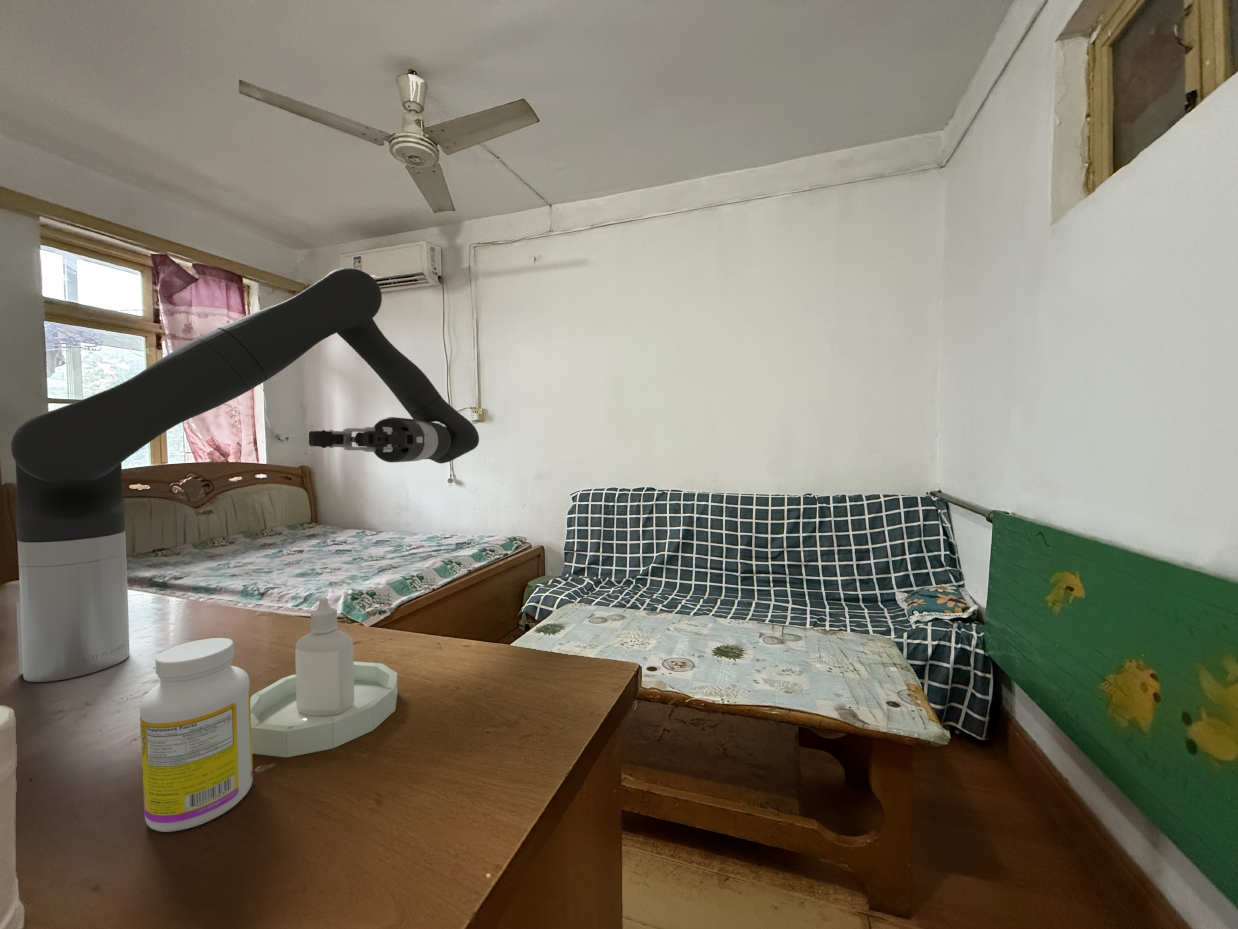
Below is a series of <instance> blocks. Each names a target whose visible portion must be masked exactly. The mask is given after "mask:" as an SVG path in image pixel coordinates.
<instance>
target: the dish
mask: <svg viewBox="0 0 1238 929" xmlns="http://www.w3.org/2000/svg"><path fill="white" fill-rule="evenodd" d="M397 700H398V672H396V671H395V670H393V669H392V668H390V667H388V666H387V665H385V664H384V663H381V662H380V663H379V662H378V663H377V662H368V661H367V662H366V661H355V660H354V703H353V704H352V705H351V706H350V707H349V708H348V709H347V710H345V711H344V712H342V713H340V714H337V715H330V716H312V715H307V714H304V713H301V712H299V711H298V710H297V707H296V673H294V674H290V675H288V676H285V677H282V678H280V679H278V680H277V681H275V682H273V683H272V684H270V685H268V686H267V687H265V688H263V689H261V690H259V691H257V692H255V693H254V694H252V695H251V696H250V709H251V737H252V755H262V756H270V757H278V758H279V757H280V758H291V757H296V756H302V755H306V754H311V753H317V752H323V751H327V750H331V749H332V750H333V749H335V748H337V747H340V746H342V745H344V744H346V743H348V742H350V741H353V740H355V739H357V738H359V737H361V736H363V735H366V734H367V733H370V732H372V731H374V730H375V729H376V728H377V727H378V726H380V725H381V724H382V723H383V722H385V720H386V719H387V718H388V717H389V716H391V715H392V714H393V713H394V712H395V711H396V708H397V702H398V701H397Z"/></svg>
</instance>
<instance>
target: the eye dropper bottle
mask: <svg viewBox="0 0 1238 929" xmlns="http://www.w3.org/2000/svg"><path fill="white" fill-rule="evenodd" d="M296 641H297V642H296V643H295V649H294V650H295V651H294V652H295V654H294V655H295V657H294V658H295V674H296V707H297V710H298V711H299V712H301V713H304V714H307V715H312V716H330V715H337V714H340V713H342V712H344V711H345V710H347V709H348V708H349V707H350V706H351V705H352V704H353V703H354V661H355V660H354V659H355V658H354V641H353V639H352V637H351V636H350V635H349V634H347V633H346V632H344V631H342V630H339V629H338V610H337V608H334V607H331V606H330V603H329V599H328V598H327V597H321V598H320V599H319V601H318V606H317V609H315V610H314V611H312V612H311V613H310V632H308V633H306V634H304V635H303V636H302V637H300V638H299V639H298V640H296Z"/></svg>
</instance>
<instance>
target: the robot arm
mask: <svg viewBox="0 0 1238 929" xmlns="http://www.w3.org/2000/svg"><path fill="white" fill-rule="evenodd" d="M382 297H383V296H382V290H381V287H380V285H379V283H378V282H377V281H376V280H375V278H374V277H373V276H372V275H370V274H369V273H367V272H365V271H363V270H360V269H357V268H352V267H341V268H337V269H334V270H332V271H330V272H329V273H327V275H325V276H324V277H322V278H321V279H320V280H318V281H317V282H315V283H314V284H312V285H310V286H308V288H306V289H304V290H303V291H301V292H299V293H297V294H296V295H294V296H292V297H291V298H289V299H287V300H285V301H283V302H279V303H277V304H275V305H272V306H268V307H266V308H264V309H261V310H257V311H255V312H253V313H250V314H248V315H245V316H243V317H240V318H238V319H236V320H234V321H232V322H229V323H226V324H224V325H222V326H219V327H217V328H215V329H214V330H213V329H212V330H210V332H206V333H205V334H203V335H201V336H199V337H196V338H195V339H193V340H191V341H189V342H187V343H186V344H184V345H182V346H180V347H179V348H177V349H175V350H174V351H172V352H170V353H168V354H167V355H165V356H163V357H161V358H160V359H159V360H157V361H156V362H154V363H153V364H152V365H150V366H148V367H147V368H145V369H144V370H143V371H141V372H139V373H138V374H136V375H135V376H133V377H131V378H130V379H129V378H128V379H127V380H125V381H123V382H122V383H120V384H117V385H114V386H113V387H110V388H107V389H106V390H103V391H100V392H97V393H95V394H93V395H91V396H89V397H88V396H87V397H86V398H83V399H81V400H77V401H75V402H72V403H70V404H69V403H68V404H67V405H65V406H64V405H63V406H62V407H59V408H56V409H52V410H49V411H47V412H43V413H40V414H38V415H35V416H32V417H31V418H30V419H28V420H26V421H24V422H23V423H22V424H21V425H20V426H19V427H17V430H15V432H14V434H13V435H12V438H11V441H10V450H11V451H10V452H11V455H12V458H13V460H14V461H15V477H16V478H15V480H16V520H15V524H16V525H15V527H16V529H15V530H16V540H17V541H16V542H17V557H18V558H17V561H18V578H19V599H18V600H17V601H16V618H17V620H16V621H17V622H16V623H17V625H16V626H17V641H18V642H17V646H18V667H19V674H23V676H22V677H23V679H24V680H23V681H26V682H30V683H31V682H32V683H43V682H44V683H46V682H55V681H61V680H62V681H63V680H67V679H72V678H77V677H81V676H85V675H89V674H93V673H96V672H99V671H101V670H102V671H103V670H104V669H108V668H110V667H113V666H115V665H118V664H120V663H121V662H123V661H125V660H126V659H128V658H129V656H130V627H129V626H130V624H129V622H130V621H129V620H130V619H129V597H128V596H129V594H128V592H129V591H128V568H127V565H128V564H127V544H126V543H127V541H126V539H127V538H126V531H125V530H126V516H125V515H126V514H125V513H126V512H125V505H124V502H125V501H124V496H123V495H124V493H123V491H124V490H123V471H122V470H123V465H122V463H123V462H124V461H125V460H126V459H128V458H129V457H131V456H132V455H134V454H135V453H136V452H138V451H139V450H141V449H142V448H143V447H145V446H146V445H148V444H149V443H151V442H152V441H153V440H155V439H157V438H158V437H160V436H161V435H163V434H164V433H165V432H168V431H169V430H171V429H172V428H174V427H175V426H177V425H179V424H182V423H183V422H185V421H187V420H190V419H192V418H195V417H197V416H199V415H202V414H204V413H207V412H209V411H211V410H213V409H216V408H218V407H220V406H222V405H224V404H226V403H228V402H230V401H232V400H234V399H236V398H238V397H240V396H242V395H243V394H245V393H248V392H250V391H251V390H252V389H255V388H256V387H258V386H259V385H261V384H263V383H265V382H266V381H268V380H270V379H272V378H273V377H275V375H278V373H279V374H280V372H281V371H283V370H284V369H286V368H287V367H289V366H291V364H293V363H294V362H295V361H296V360H298V359H299V358H300V357H302V356H303V355H305V354H306V353H307V352H308V351H309V350H311V349H312V348H313V347H315V346H316V345H317V344H318V343H320V342H323V340H325V339H327V338H329V337H330V336H332V335H335V334H337V335H338V336H339V337H340V338H341V339H342V340H344V342H346V343H347V344H348V345H349V346H350V347H351V348H352V349H353V351H355V352H356V354H358V355H359V357H361V358H362V360H363V361H364V362H365V363H366V364H367V365H369V367H370V368H371V369H372V370H373V371H374V372H375V373H376V375H377V376H378V378H380V379H381V381H383V383H384V384H385V385H386V387H388V389H389V390H390V391H391V392H392V394H393V395H394V396H395V398H396V399H397V400H398V401H399V403H400V404H401V406H402V407H403V408H404V410H406V412H407V413H408V414H409V415H410V417H411V418H407V417H406V418H405V417H396V416H395V417H394V416H389V417H384V418H381V419H380V420H379V421H377V422H376V423H375V424H374V426H366V427H363V428H357V427H347V428H346V427H345V428H343V429H342V430H341V431H339V430H333V429H329V430H326V429H324V430H323V429H322V430H310V431H309V432H308V445H309V446H310V447H319V448H322V449H326V448H329V449H334V448H343V450H345V451H363V452H367V453H374V455H375V456H376V457H377V458H379V460H381V461H383V462H386V463H406V462H409V463H410V462H418V461H421V460H422V461H423V460H431V461H433V462H435V463H437V464H445V463H450V462H451V461H453V460H455V459H458V458H460V457H462V456H463V455H465V454H468V453H469V452H471V451H473V450H475V449H476V448H477V447H478V445H479V443H480V435H479V432H478V430H477V428H476V427H475V425H474V424H473V423H472V422H471V421H470V420H469V419H467V418H466V417H465V416H464V415H463V414H461V413H460V412H458V411H457V410H456V409H455V408H454V407H453V406H451V404H449V403H448V402H447V401H446V400H445V399H444V398H443V397H442V395H441V394H440V392H439V391H438V390H437V388H436V387H435V385H434V384H433V383H432V381H431V380H430V378H428V376H427V375H426V374H425V373H424V372H423V371H422V370H421V369H420V368H419V367H418V366H417V365H416V363H414V362H413V361H412V360H410V359H409V358H408V357H407V356H405V355H404V354H403V353H402V352H401V351H400V350H398V349H397V347H395V346H394V345H393V344H392V343H391V341H389V339H388V338H387V336H385V335H384V333H383V332H382V331H381V329H380V328H379V327H378V325H377V323H376V321H375V319H374V317H376V315H377V314H378V312H379V310H380V309H381V306H382V302H383V300H382V299H383V298H382ZM353 433H356V434H355V436H353ZM353 443H355V445H356V446H353Z"/></svg>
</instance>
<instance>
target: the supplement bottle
mask: <svg viewBox="0 0 1238 929" xmlns="http://www.w3.org/2000/svg"><path fill="white" fill-rule="evenodd" d="M234 656H235V648H234V641H233V640H232V639H230V638H226V637H211V638H204V639H198V640H193V641H189V642H184V643H181V644H178V645H175V646H173V647H170V648H168V649H166V650H164V651H161V652H160V653H159V654H158V655H157V656H156V657H155V674H156V676H157V677H158V678H159V680H160V682H159V683H158V684H157V685H155V686H154V687H153V688H152V689H150V690H149V691H148V692H147V693H146V695H145V696H144V697H143V699H142V700H141V702H140V706H139V722H140V724H139V725H140V726H139V727H140V728H139V729H140V746H141V748H140V749H141V767H142V785H143V792H142V793H143V811H144V821H145V822H146V825H147V826H148V828H150V829H151V830H154V831H156V832H163V833H171V832H177V831H183V830H188V829H190V828H191V829H192V828H195V827H199V826H200V825H203V824H205V823H208V822H210V821H213V820H214V819H216V818H218V817H220V816H221V815H223V814H225V813H227V812H228V811H230V810H231V809H233V808H234V807H235V806H236V805H238V803H239V802H241V800H243V798H244V797H245V796H246V795H247V794H248V792H249V790H250V789H251V787H252V784H253V780H254V778H253V777H254V775H253V774H254V772H253V770H254V768H253V767H254V766H253V764H254V763H253V754H252V737H251V709H250V698H251V684H250V682H251V680H250V677H249V675H248V673H247V672H246V671H245V670H244V669H242V668H240V667H238V666H236V665H232V661H233V659H234Z"/></svg>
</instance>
